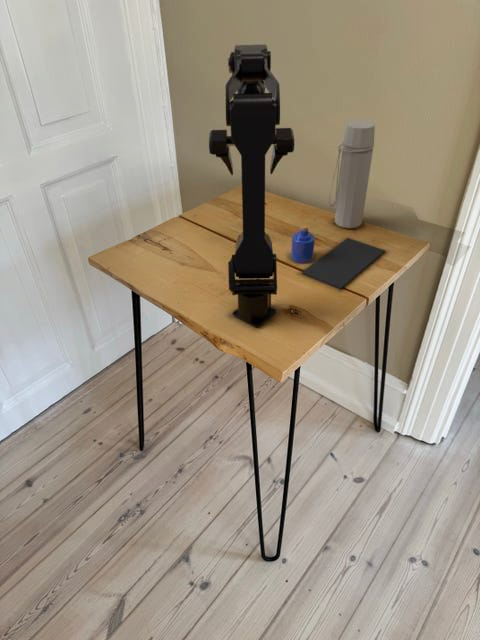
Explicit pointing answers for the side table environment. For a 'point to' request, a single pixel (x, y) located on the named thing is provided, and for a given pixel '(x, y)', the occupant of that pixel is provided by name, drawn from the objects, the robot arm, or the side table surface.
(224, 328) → the side table surface
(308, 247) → the flask
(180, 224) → the side table surface
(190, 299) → the side table surface
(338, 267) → the mat
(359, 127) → the water bottle
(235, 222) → the side table surface
